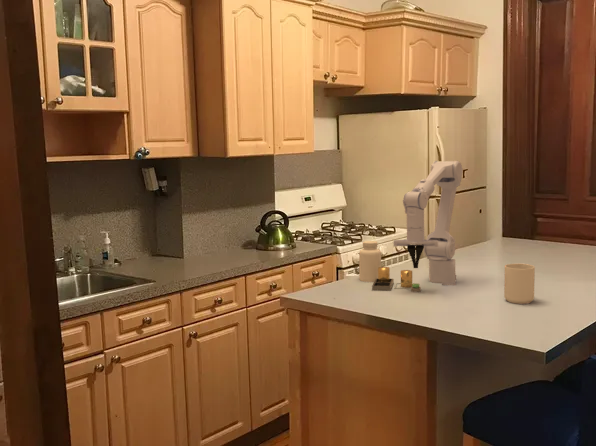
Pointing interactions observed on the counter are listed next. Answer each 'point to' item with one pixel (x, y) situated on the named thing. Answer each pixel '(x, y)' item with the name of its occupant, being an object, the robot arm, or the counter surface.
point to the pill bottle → (369, 261)
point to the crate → (382, 285)
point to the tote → (403, 288)
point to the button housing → (415, 289)
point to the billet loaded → (383, 274)
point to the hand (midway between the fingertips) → (415, 267)
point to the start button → (415, 285)
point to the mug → (519, 283)
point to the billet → (406, 278)
